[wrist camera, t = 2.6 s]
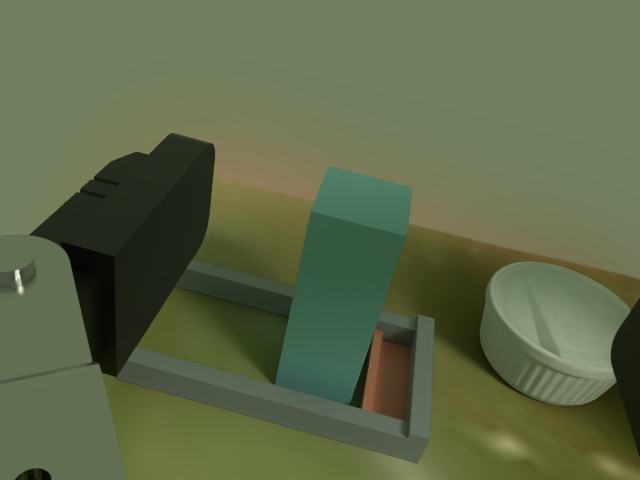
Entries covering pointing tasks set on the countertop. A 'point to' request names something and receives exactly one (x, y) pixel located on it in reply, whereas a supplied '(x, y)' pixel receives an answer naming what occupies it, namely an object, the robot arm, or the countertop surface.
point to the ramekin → (551, 332)
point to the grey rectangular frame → (300, 408)
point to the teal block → (342, 282)
